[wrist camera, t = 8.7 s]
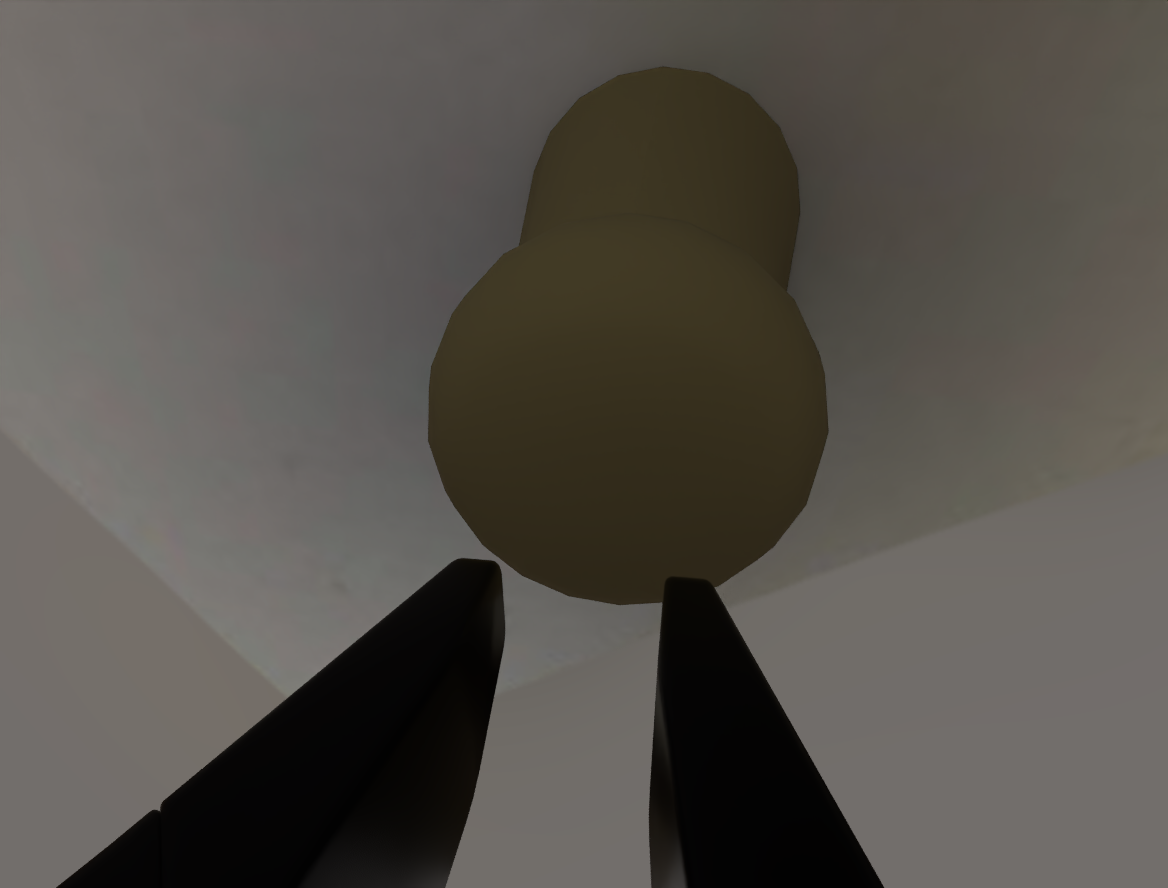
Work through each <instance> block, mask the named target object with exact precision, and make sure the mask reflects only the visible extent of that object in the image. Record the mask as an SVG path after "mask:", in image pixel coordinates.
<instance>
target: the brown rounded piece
mask: <svg viewBox="0 0 1168 888" xmlns="http://www.w3.org/2000/svg"><path fill="white" fill-rule="evenodd" d="M799 216H800V202H799V188H798V175H797V167H796V165H795V162H794V160H793V158H792V155H791V153H790V151H789V148H788V146H787V144H786V141H785V139H784V137H783V134H782V132H781V130H780V127H779V126H778V125H777V124H776V123H775V122H774V121H773V120H772V119H771V118H770V117H769V115H768V114H767V113H766V112H765V111H764V110H763V109H762V108H761V107H760V106H759V105H758V104H757V102H756V101H755V100H754V99H753V98H752V97H751V96H750V95H749V94H747V93H746V92H744V91H742V90H740V89H738V88H736V87H734V86H732V85H730V84H728V83H727V82H725V81H723V80H721V79H719V78H717V77H715V76H713V75H711V74H709V73H705V72H698V71H691V70H684V69H677V68H670V67H659V68H654V69H649V70H644V71H639V72H634V73H629V74H624V75H619V76H617V77H615V78H613V79H612V80H610V81H608V82H606V83H605V84H603V85H601V86H600V87H598V88H596V89H594V90H593V91H591V92H589V93H588V94H586V95H584V96H583V97H581V98H579V99H578V100H577V102H576V103H575V104H574V105H573V106H572V107H571V109H570V110H569V111H568V112H567V113H566V114H565V116H564V117H563V118H562V119H561V120H560V121H559V122H558V124H557V125H556V126H555V127H554V128H553V129H552V131H551V132H550V134H549V136H548V139H547V141H546V144H545V146H544V148H543V151H542V153H541V156H540V158H539V160H538V163H537V165H536V168H535V170H534V174H533V179H532V184H531V189H530V194H529V199H528V204H527V209H526V214H525V219H524V223H523V228H522V233H521V238H520V243H519V246H518V247H516V248H514V249H512V250H510V251H509V252H507V253H505V254H503V255H502V256H501V257H500V258H499V260H498V261H497V262H496V263H495V264H494V265H493V266H492V267H491V268H490V269H489V271H488V272H487V273H486V274H485V275H484V276H483V277H482V278H481V279H480V280H479V281H478V283H477V284H476V285H475V286H474V287H473V288H472V289H471V290H470V291H469V292H468V294H467V295H466V296H465V297H464V298H463V300H462V301H461V302H460V304H459V305H458V307H457V308H456V309H455V311H454V312H453V313H452V315H451V318H450V320H449V323H448V325H447V328H446V330H445V333H444V335H443V338H442V341H441V343H440V346H439V348H438V351H437V353H436V356H435V358H434V361H433V363H432V366H431V374H430V384H429V423H428V442H429V445H430V448H431V451H432V454H433V457H434V459H435V462H436V465H437V468H438V471H439V474H440V477H441V480H442V483H443V486H444V489H445V491H446V493H447V495H448V496H449V498H450V500H451V502H452V503H453V505H454V507H455V508H456V509H457V511H458V512H459V514H460V515H461V516H462V518H463V519H464V520H465V522H466V523H467V524H468V526H469V527H470V528H471V530H472V531H473V532H474V534H475V535H476V536H477V538H478V539H479V541H480V542H481V543H482V545H483V546H485V547H486V548H487V549H488V550H490V551H491V552H492V553H494V554H495V555H496V556H497V557H499V558H500V559H501V560H503V561H504V562H505V563H506V564H508V565H509V566H510V567H512V568H513V569H514V570H515V571H517V572H518V573H519V574H521V575H522V576H524V577H526V578H528V579H531V580H533V581H535V582H538V583H540V584H542V585H545V586H547V587H549V588H551V589H554V590H556V591H558V592H561V593H563V594H565V595H567V596H571V597H577V598H582V599H588V600H594V601H599V602H605V603H611V604H616V605H628V604H644V603H660V602H663V593H664V583H665V580H666V579H667V578H668V577H670V576H678V577H690V578H701V579H706V580H708V581H710V582H711V584H712V585H713V586H714V587H718V586H719V585H721V584H722V583H724V582H725V581H727V580H728V579H730V578H731V577H733V576H734V575H735V574H737V573H738V572H740V571H741V570H743V569H744V568H746V567H747V566H749V565H750V564H752V563H753V562H755V561H756V560H758V559H759V558H760V557H762V556H763V555H764V554H765V553H767V552H768V551H769V550H770V549H772V548H773V547H774V546H775V545H776V543H777V542H778V541H779V539H780V538H781V537H782V535H783V534H784V533H785V532H786V530H787V529H788V528H789V526H790V525H791V524H792V523H793V521H794V520H795V519H796V517H797V516H798V515H799V514H800V512H801V511H802V510H803V508H804V507H805V506H806V504H807V501H808V498H809V495H810V491H811V488H812V485H813V482H814V479H815V476H816V472H817V469H818V466H819V463H820V460H821V457H822V453H823V450H824V446H825V442H826V439H827V435H828V415H827V400H826V385H825V373H824V369H823V366H822V362H821V358H820V355H819V352H818V350H817V348H816V345H815V343H814V341H813V339H812V337H811V335H810V332H809V330H808V328H807V326H806V324H805V322H804V319H803V317H802V315H801V313H800V311H799V309H798V306H797V304H796V302H795V300H794V299H793V298H792V297H791V296H790V295H789V294H788V293H787V287H788V281H789V275H790V269H791V263H792V257H793V251H794V245H795V239H796V233H797V227H798V222H799Z"/></svg>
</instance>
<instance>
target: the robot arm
mask: <svg viewBox="0 0 1168 888" xmlns="http://www.w3.org/2000/svg"><path fill="white" fill-rule="evenodd" d="M504 640H505V615H504V601H503V586H502V573H501V569H500V566H499V565H498V564H497V563H496V562H495V561H490V560H479V559H467V558H460V559H457V560H454V561H453V562H451V563H450V564H449V565H448V566H446V567H445V568H444V569H443V570H442V571H440V572H439V573H438V574H437V575H435V576H434V577H433V578H432V579H431V580H429V581H428V582H427V583H426V584H425V585H423V586H422V587H421V588H420V589H419V590H417V591H416V592H415V593H414V594H413V595H411V596H410V597H409V598H408V599H407V600H405V601H404V602H403V603H402V604H400V605H399V606H398V607H397V608H396V609H394V610H393V611H392V612H391V613H390V614H388V615H387V616H386V617H385V618H384V619H382V620H381V621H380V622H379V623H378V624H376V625H375V626H374V627H373V628H372V629H370V630H369V631H368V632H367V633H365V634H364V635H363V636H362V637H361V638H359V639H358V640H357V641H356V642H355V643H353V644H352V645H351V646H350V647H349V648H347V649H346V650H345V651H344V652H343V653H341V654H340V655H339V656H338V657H337V658H335V659H334V660H333V661H332V662H330V663H329V664H328V665H327V666H326V667H324V668H323V669H322V670H321V671H320V672H318V673H317V674H316V675H315V676H314V677H312V678H311V679H310V680H309V681H308V682H306V683H305V684H304V685H303V686H302V687H300V688H299V689H298V690H297V691H295V692H294V693H293V694H292V695H291V696H289V697H288V698H287V699H286V700H285V701H283V702H282V703H281V704H280V705H279V706H277V707H276V708H275V709H274V710H273V711H271V712H270V713H269V714H268V715H267V716H265V717H264V718H263V719H262V720H261V721H259V722H258V723H257V724H256V725H255V726H253V727H252V728H251V729H250V730H248V731H247V732H246V733H245V734H244V735H243V736H241V737H240V738H239V739H238V740H236V741H235V742H234V743H233V744H232V745H230V746H229V747H228V748H227V749H226V750H225V751H223V752H222V753H221V754H219V755H218V756H217V757H216V758H215V759H214V760H212V761H211V762H210V763H209V764H207V765H206V766H205V767H204V768H203V769H201V770H200V771H199V772H198V773H197V774H195V775H194V776H193V777H192V778H191V779H189V780H188V781H187V782H186V783H185V784H183V785H182V786H181V787H180V788H178V789H177V790H176V791H175V792H174V793H172V794H171V795H170V796H169V797H168V798H166V799H165V800H164V801H163V802H162V804H161V807H160V811H158V810H152V811H150V812H149V813H148V814H146V815H145V816H144V817H143V818H142V819H141V820H139V821H138V822H137V823H136V824H134V825H133V826H132V827H131V828H130V829H128V830H127V831H126V832H125V833H124V834H123V835H121V836H120V837H119V838H117V839H116V840H115V841H114V842H113V843H111V844H110V845H109V846H108V847H107V848H105V849H104V850H103V851H102V852H100V853H99V854H98V855H97V856H95V857H94V858H93V859H91V860H90V861H89V862H88V863H87V864H85V865H84V866H83V867H81V868H80V869H79V870H78V871H76V872H75V873H74V874H73V875H71V876H70V877H69V878H68V879H66V880H65V881H64V882H63V883H61V884H60V885H59V886H58V887H56V888H445V886H446V883H447V880H448V877H449V874H450V871H451V868H452V865H453V862H454V858H455V855H456V852H457V849H458V846H459V843H460V840H461V837H462V834H463V831H464V827H465V824H466V821H467V818H468V814H469V811H470V807H471V804H472V800H473V797H474V792H475V788H476V783H477V779H478V775H479V770H480V765H481V760H482V755H483V750H484V745H485V740H486V735H487V729H488V724H489V719H490V714H491V709H492V704H493V699H494V694H495V689H496V684H497V679H498V674H499V668H500V663H501V658H502V653H503V648H504ZM649 846H650V865H651V887H652V888H884V887H883V885H882V883H881V881H880V879H879V878H878V876H877V874H876V872H875V871H874V869H873V867H872V866H871V863H870V862H869V860H868V858H867V856H866V855H865V853H864V851H863V849H862V848H861V846H860V844H859V842H858V841H857V839H856V837H855V835H854V834H853V832H852V830H851V828H850V826H849V825H848V823H847V821H846V819H845V818H844V816H843V814H842V812H841V811H840V809H839V807H838V805H837V803H836V802H835V800H834V798H833V797H832V795H831V793H830V791H829V790H828V788H827V786H826V784H825V782H824V780H823V779H822V777H821V775H820V774H819V772H818V770H817V768H816V766H815V765H814V763H813V761H812V759H811V758H810V756H809V754H808V752H807V750H806V749H805V747H804V745H803V744H802V742H801V740H800V738H799V736H798V735H797V733H796V731H795V729H794V728H793V726H792V724H791V722H790V721H789V719H788V717H787V716H786V714H785V712H784V710H783V708H782V706H781V705H780V703H779V701H778V699H777V698H776V696H775V694H774V692H773V691H772V689H771V687H770V685H769V684H768V682H767V680H766V678H765V676H764V675H763V673H762V671H761V669H760V668H759V666H758V664H757V663H756V661H755V659H754V657H753V655H752V654H751V652H750V650H749V648H748V646H747V645H746V643H745V641H744V639H743V638H742V636H741V634H740V632H739V630H738V629H737V627H736V625H735V623H734V622H733V620H732V618H731V616H730V615H729V613H728V611H727V609H726V607H725V606H724V604H723V602H722V600H721V599H720V597H719V595H718V593H717V592H716V590H715V588H714V586H713V585H712V584H711V582H710V581H708V580H706V579H701V578H690V577H678V576H670V577H668V578H667V579H666V580H665V583H664V593H663V605H662V617H661V629H660V641H659V654H658V668H657V685H656V701H655V716H654V733H653V750H652V766H651V781H650V801H649Z"/></svg>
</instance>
